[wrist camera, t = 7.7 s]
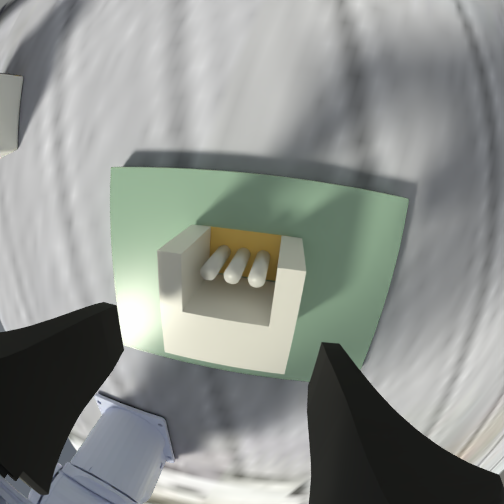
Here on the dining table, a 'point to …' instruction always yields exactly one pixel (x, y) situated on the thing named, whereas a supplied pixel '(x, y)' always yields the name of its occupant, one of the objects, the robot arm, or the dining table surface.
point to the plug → (228, 306)
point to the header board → (258, 251)
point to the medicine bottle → (9, 112)
